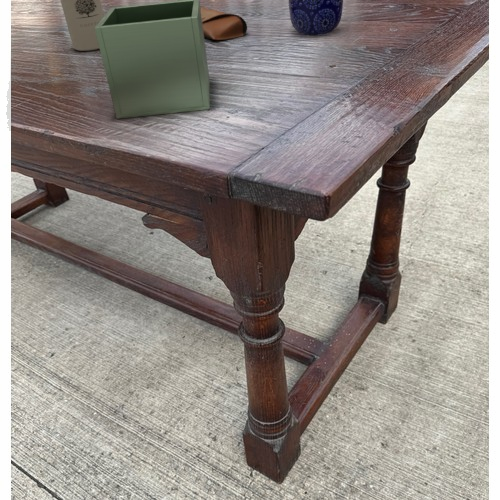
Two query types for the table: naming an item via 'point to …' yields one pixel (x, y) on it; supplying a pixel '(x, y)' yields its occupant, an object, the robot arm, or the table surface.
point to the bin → (155, 58)
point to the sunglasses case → (222, 25)
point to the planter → (315, 15)
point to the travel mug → (83, 22)
